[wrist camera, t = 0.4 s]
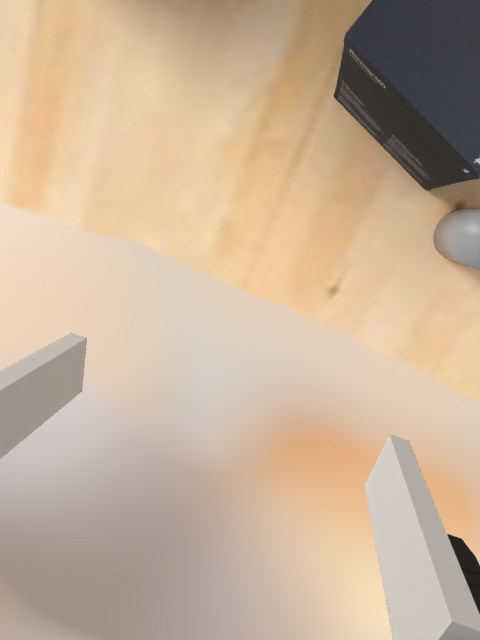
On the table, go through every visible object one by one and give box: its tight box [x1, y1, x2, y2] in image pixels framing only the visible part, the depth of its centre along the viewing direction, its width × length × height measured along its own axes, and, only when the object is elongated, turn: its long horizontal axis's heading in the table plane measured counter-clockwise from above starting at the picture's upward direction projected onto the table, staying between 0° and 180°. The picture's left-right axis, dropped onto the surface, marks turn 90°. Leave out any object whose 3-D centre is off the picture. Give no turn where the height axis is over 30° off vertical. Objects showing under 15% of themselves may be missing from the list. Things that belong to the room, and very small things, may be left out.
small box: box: [334, 0, 480, 190], centre depth 27 cm, size 13×7×12 cm, turn 48°
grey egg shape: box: [434, 208, 480, 270], centre depth 32 cm, size 5×5×7 cm
